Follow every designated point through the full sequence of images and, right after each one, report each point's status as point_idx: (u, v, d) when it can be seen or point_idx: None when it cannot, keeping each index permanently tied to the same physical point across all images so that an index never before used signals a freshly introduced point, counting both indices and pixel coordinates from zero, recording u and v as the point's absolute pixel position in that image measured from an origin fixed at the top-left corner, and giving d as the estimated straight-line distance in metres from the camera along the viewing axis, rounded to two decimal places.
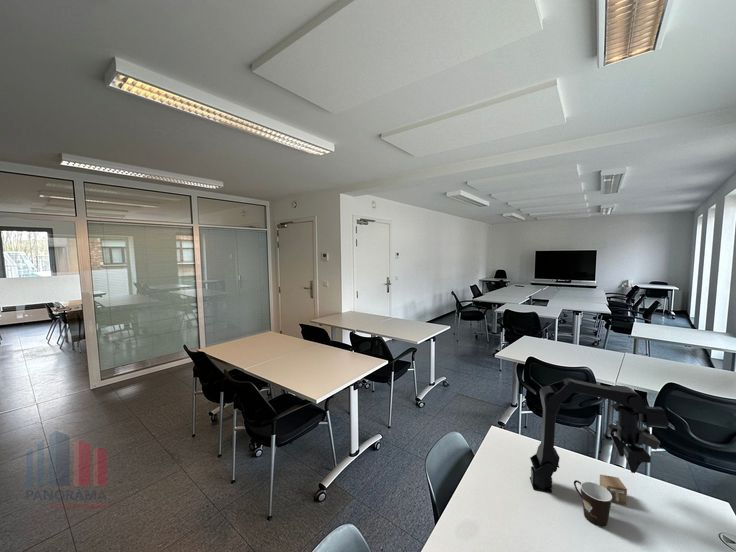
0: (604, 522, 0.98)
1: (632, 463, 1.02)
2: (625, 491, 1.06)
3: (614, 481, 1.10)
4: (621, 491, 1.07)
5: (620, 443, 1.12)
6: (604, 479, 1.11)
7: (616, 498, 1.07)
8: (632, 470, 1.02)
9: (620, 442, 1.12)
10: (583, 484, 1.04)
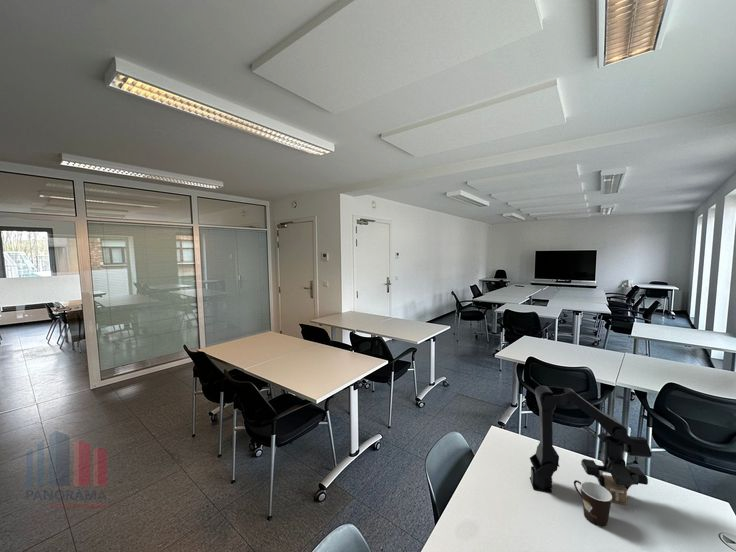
0: (604, 522, 0.98)
1: (598, 478, 1.12)
2: (625, 491, 1.06)
3: None
4: (621, 491, 1.07)
5: None
6: (604, 479, 1.11)
7: (616, 498, 1.07)
8: None
9: None
10: (583, 484, 1.04)
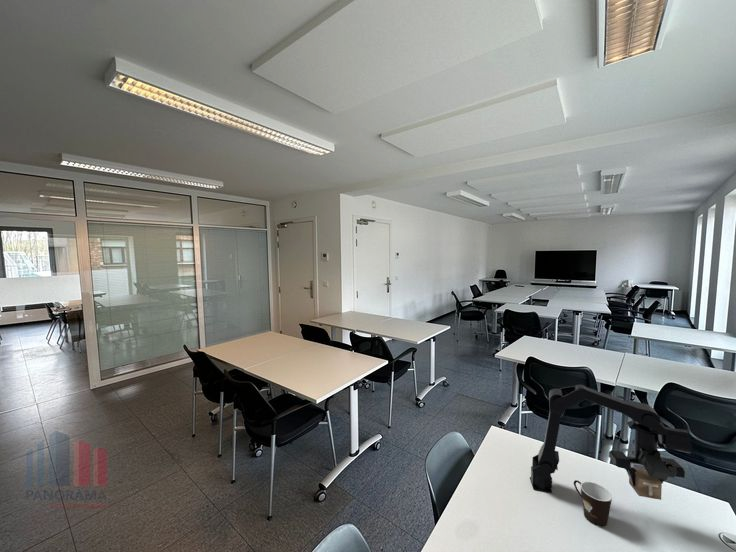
0: (604, 522, 0.98)
1: (628, 471, 1.02)
2: (660, 485, 0.96)
3: (646, 474, 1.00)
4: (655, 485, 0.96)
5: None
6: None
7: (649, 492, 0.97)
8: (631, 481, 1.01)
9: None
10: (583, 484, 1.04)
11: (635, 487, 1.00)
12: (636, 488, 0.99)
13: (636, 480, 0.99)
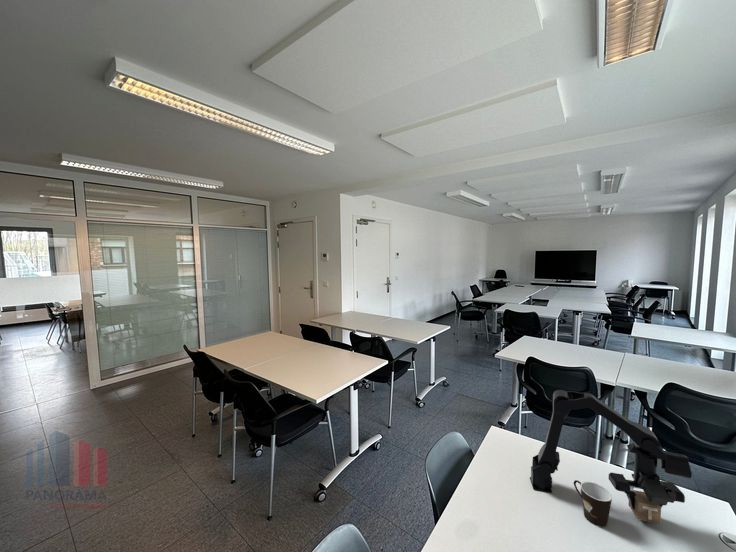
0: (604, 522, 0.98)
1: (627, 494, 1.02)
2: (659, 509, 0.97)
3: (646, 497, 1.00)
4: (654, 509, 0.97)
5: None
6: None
7: (649, 516, 0.97)
8: (630, 504, 1.02)
9: None
10: (583, 484, 1.04)
11: (634, 510, 1.00)
12: (636, 511, 1.00)
13: (635, 503, 1.00)
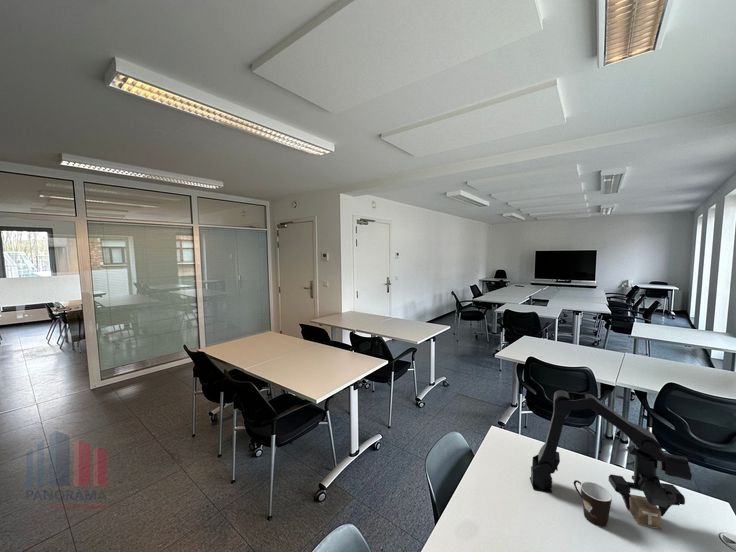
0: (604, 522, 0.98)
1: (622, 495, 1.03)
2: (659, 514, 0.97)
3: (646, 502, 1.00)
4: (654, 514, 0.97)
5: None
6: (634, 500, 1.01)
7: (649, 521, 0.97)
8: None
9: None
10: (583, 484, 1.04)
11: (634, 515, 1.00)
12: (636, 516, 1.00)
13: (635, 508, 1.00)
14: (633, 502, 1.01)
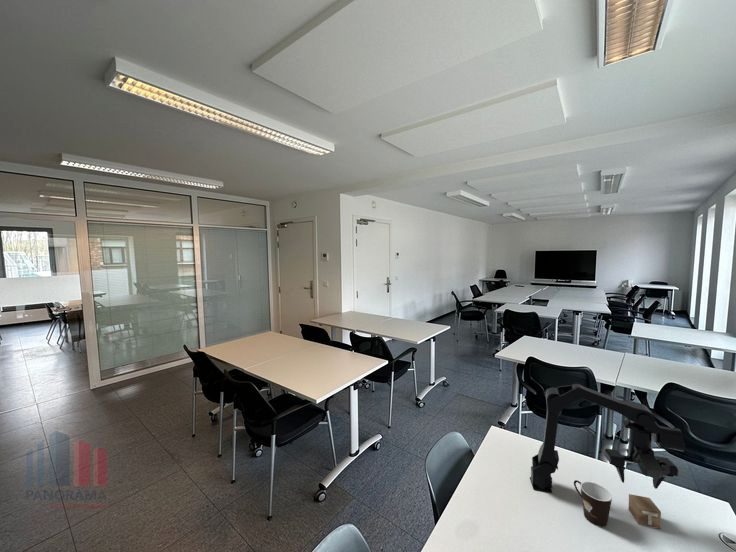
0: (604, 522, 0.98)
1: (617, 469, 1.04)
2: (659, 514, 0.97)
3: (646, 502, 1.00)
4: (654, 514, 0.97)
5: None
6: (634, 500, 1.01)
7: (649, 521, 0.97)
8: (620, 478, 1.04)
9: None
10: (583, 484, 1.04)
11: (634, 515, 1.00)
12: (636, 516, 1.00)
13: (635, 508, 1.00)
14: (633, 502, 1.01)
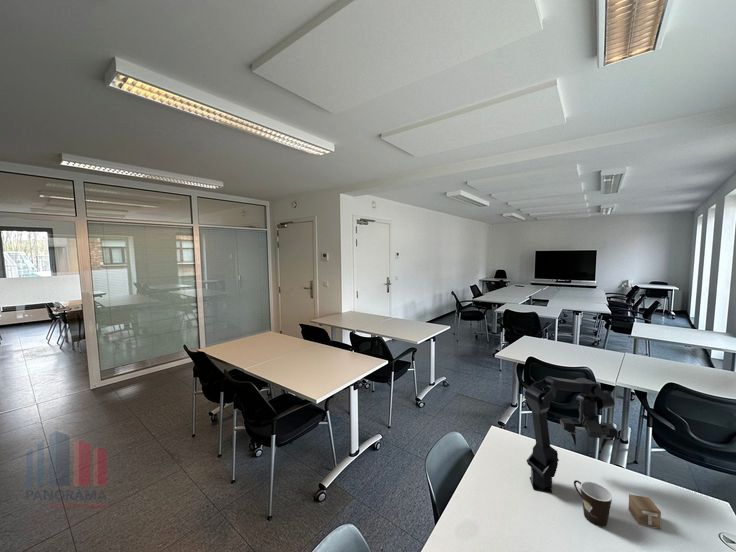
0: (604, 522, 0.98)
1: (570, 434, 1.23)
2: (659, 514, 0.97)
3: (646, 502, 1.00)
4: (654, 514, 0.97)
5: (602, 437, 1.19)
6: (634, 500, 1.01)
7: (649, 521, 0.97)
8: (573, 441, 1.23)
9: None
10: (583, 484, 1.04)
11: (634, 515, 1.00)
12: (636, 516, 1.00)
13: (635, 508, 1.00)
14: (633, 502, 1.01)
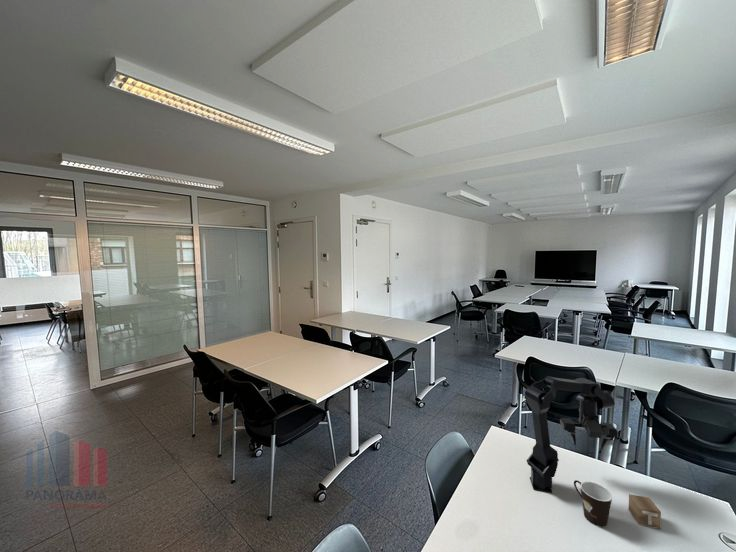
0: (604, 522, 0.98)
1: (570, 434, 1.23)
2: (659, 514, 0.97)
3: (646, 502, 1.00)
4: (654, 514, 0.97)
5: (602, 437, 1.19)
6: (634, 500, 1.01)
7: (649, 521, 0.97)
8: (573, 441, 1.23)
9: None
10: (583, 484, 1.04)
11: (634, 515, 1.00)
12: (636, 516, 1.00)
13: (635, 508, 1.00)
14: (633, 502, 1.01)
